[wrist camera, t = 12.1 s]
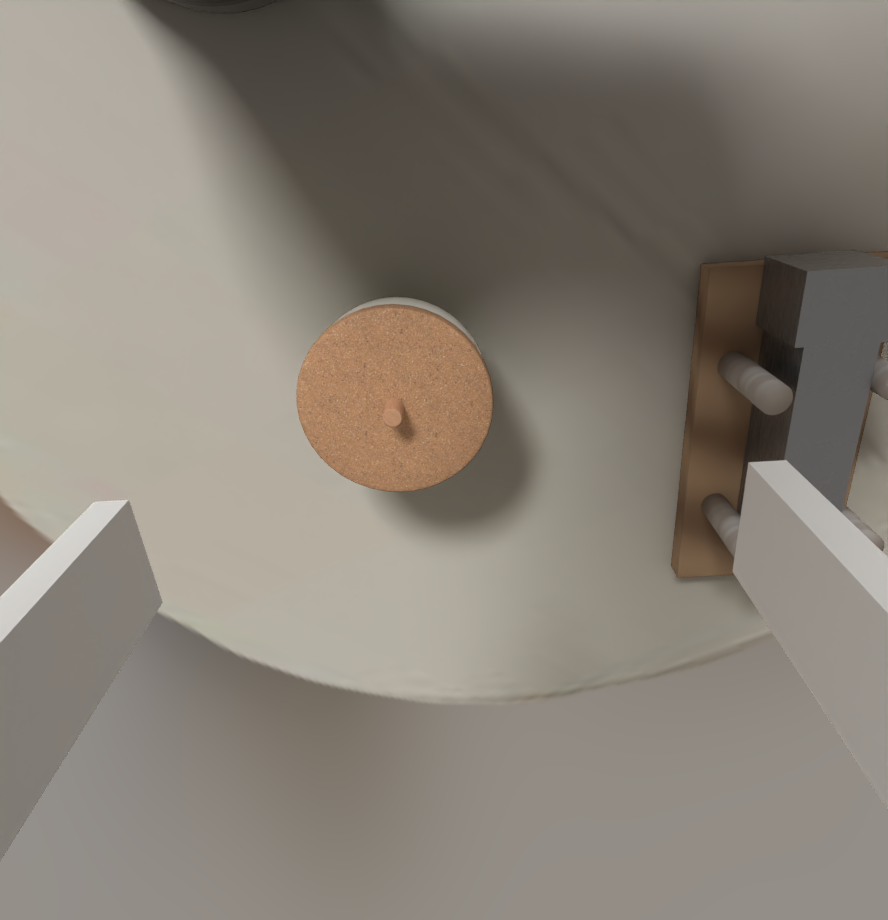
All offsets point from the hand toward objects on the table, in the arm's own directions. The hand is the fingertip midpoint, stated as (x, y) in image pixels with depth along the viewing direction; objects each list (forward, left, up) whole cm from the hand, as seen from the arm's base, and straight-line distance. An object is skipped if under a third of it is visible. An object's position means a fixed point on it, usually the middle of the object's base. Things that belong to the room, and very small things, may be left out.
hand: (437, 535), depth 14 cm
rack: (+11, +21, -29) cm, 37 cm away
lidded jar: (+5, -3, -29) cm, 30 cm away
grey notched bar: (+10, +21, -27) cm, 36 cm away
